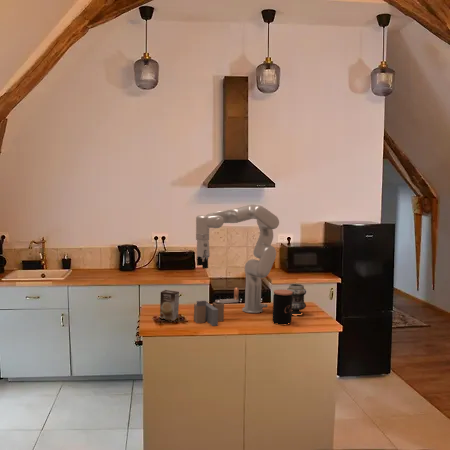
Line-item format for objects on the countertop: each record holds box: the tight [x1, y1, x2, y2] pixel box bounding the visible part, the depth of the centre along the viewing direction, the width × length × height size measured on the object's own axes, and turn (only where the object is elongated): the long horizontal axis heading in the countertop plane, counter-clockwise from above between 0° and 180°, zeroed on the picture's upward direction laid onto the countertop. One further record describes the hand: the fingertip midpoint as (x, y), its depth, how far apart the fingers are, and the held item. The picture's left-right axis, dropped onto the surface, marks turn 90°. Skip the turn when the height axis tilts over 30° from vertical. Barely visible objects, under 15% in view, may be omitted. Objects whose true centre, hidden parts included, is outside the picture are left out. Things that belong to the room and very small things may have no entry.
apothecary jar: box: [286, 283, 307, 314], centre depth 307 cm, size 12×12×18 cm
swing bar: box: [214, 286, 240, 304], centre depth 290 cm, size 14×4×8 cm, turn 112°
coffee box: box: [159, 289, 180, 320], centre depth 287 cm, size 9×6×16 cm
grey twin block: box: [193, 300, 225, 327], centre depth 287 cm, size 16×20×12 cm
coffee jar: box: [271, 289, 293, 324], centre depth 288 cm, size 11×11×18 cm
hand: (202, 266), depth 292 cm, fingers open, 9 cm apart
